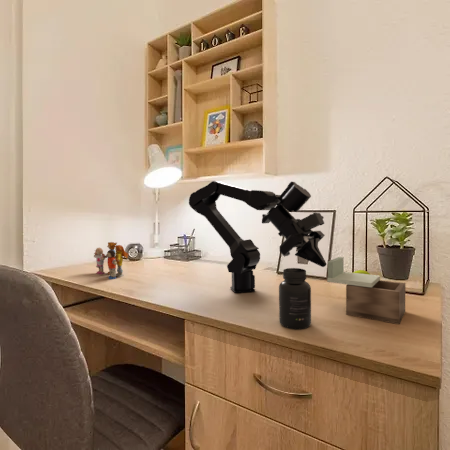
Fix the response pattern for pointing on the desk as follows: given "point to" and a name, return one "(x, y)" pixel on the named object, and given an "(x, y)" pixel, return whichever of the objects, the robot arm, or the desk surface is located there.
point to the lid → (348, 275)
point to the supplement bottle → (294, 299)
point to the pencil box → (377, 301)
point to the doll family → (111, 260)
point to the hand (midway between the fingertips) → (325, 265)
